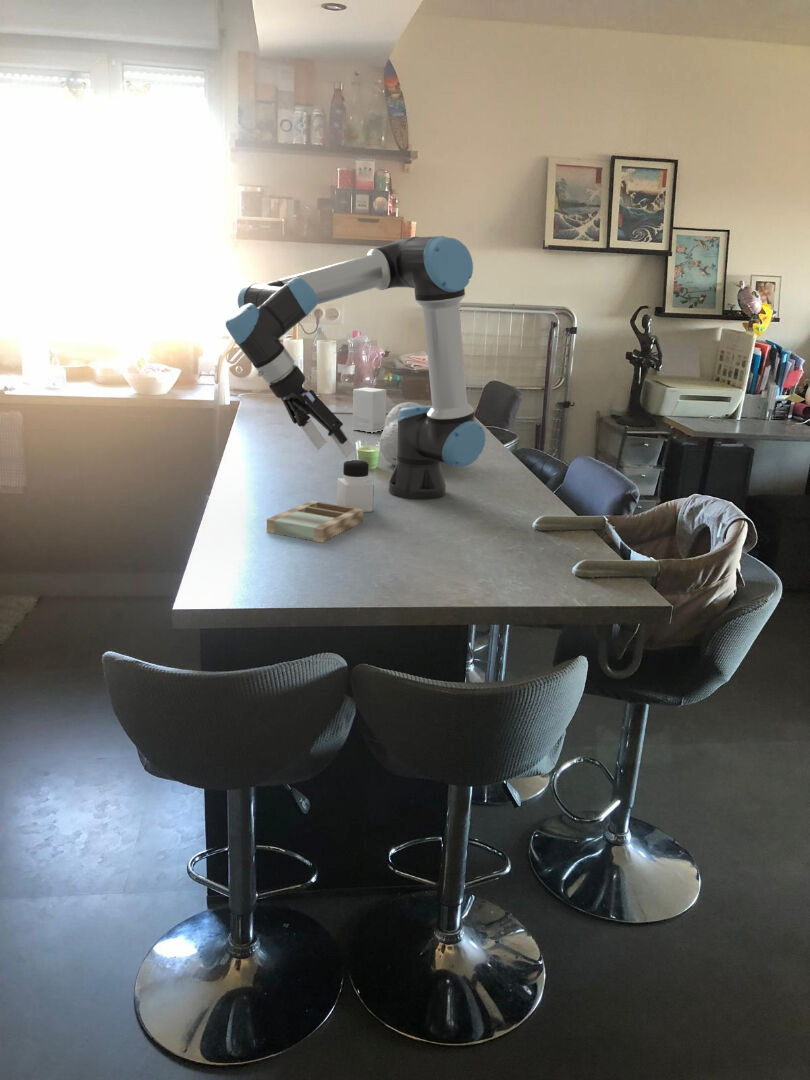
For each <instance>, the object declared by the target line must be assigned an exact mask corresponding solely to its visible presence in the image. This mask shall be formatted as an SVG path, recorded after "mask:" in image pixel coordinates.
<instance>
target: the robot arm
mask: <svg viewBox="0 0 810 1080" xmlns="http://www.w3.org/2000/svg"><path fill="white" fill-rule="evenodd" d="M473 271H474V263H473V257H472V255H471V253H470V251H469V249H468V247H467V246H466V245H465V244H464V243H463V242H462V241H460V240H459V239H456V238H454V237H448V236H444V235H442V236H441V235H439V236H438V235H437V236H410V237H406V238H403V239H399V240H397V241H393V242H391V243H388V244H385V245H382V246H379V247H375V248H371V249H370V250H369V251H368V252H367V254H366V255H364V256H360V257H355V258H353V259H349V260H345V261H341V262H338V263H333V264H330V265H326V266H324V267H319V268H315V269H312V270H309V271H305V272H301V273H297V274H293V275H290V276H286V277H282V278H279V279H276V280H273V281H272V280H271V281H267V282H265V283H253V284H247V285H245V286H243V288H241V290H240V291H239V293H238V294H237V295H238V297H237V306H238V308H237V309H236V310H234V311H233V312H232V313H231V314H229V316H228V317H227V318H226V320H225V327H226V329H227V331H228V332H229V335H230V336H231V337H232V339H233V340H234V342H235V344H237V346H238V347H239V348H240V350H241V351H242V352H243V354H244V355H245V356H246V357H247V359H248V360H249V362H250V363H251V364H252V365H253V367H254V369H256V371H257V376H258V377H261V378H262V379H263V381H264V382H266V383H267V386H268V388H269V389H270V391H271V392H272V393H273V394H274V395H275V397H276V398H278V399H280V400H281V401H282V402H283V405H284V407H285V409H286V411H287V413H288V415H289V417H290V419H291V421H292V423H293V424H297V426H299V427H300V428H301V429H302V431H303V432H304V434H305V435H306V436H307V438H308V439H309V440H310V443H311V442H312V444H313V446H314V447H315V449H316V450H318V451H320V449H322V447H323V446H325V444H326V443H327V442H328V441H327V440H326V438H325V437H324V436H323V434H322V433H321V432H320V431H319V429H318V427H317V426H316V425H315V423H314V422H313V421H312V420H311V417H312V418H314V420H316V421H317V422H318V424H320V425H321V426H322V427H323V428H325V429H326V431H327V435H328V437H330V438H331V439H332V441H334V443H335V444H336V447H338V450H340V451H341V453H342V454H343V456H344V457H345V458H348V457H350V455H352V453H353V452H354V451H355V450H356V447H355V446H354V445H353V443H352V442H351V441H350V439H349V437H348V436H347V435H346V433H345V432H344V431H343V429H342V428H341V427H342V426H343V425H344V424H343V422H342V421H341V420H340V419H339V418H338V417H337V416H336V415H335V414H334V413H333V412H332V410H331V409H330V408H329V407H328V406H327V405H326V404H325V403H324V402H323V401H322V400H321V399H320V398H319V397H318V395H317V394H316V393H315V391H314V390H313V389H310V390H307V389H305V388H304V387H303V385H304V383H305V380H306V376H305V375H304V373H303V371H302V370H301V368H300V367H299V366H298V365H297V364H295V359H294V358H293V356H291V354H290V352H289V351H288V349H287V348H286V346H284V345H283V343H282V341H281V340H280V339H281V338H282V337H283V336H284V335H286V333H288V332H289V331H290V330H291V329H293V328H294V327H295V326H296V325H297V324H299V323H300V322H301V321H302V320H303V319H305V318H306V317H308V316H309V314H310V313H311V312H312V311H313V310H314V309H315V308H316V307H317V305H321V304H324V303H327V302H328V303H329V302H331V301H334V300H338V299H341V298H344V297H347V296H351V295H355V294H358V293H362V292H366V291H369V290H372V289H377V290H378V291H384V290H388V289H394V288H410V289H411V288H412V289H413V290H414V297H415V302H416V303H418V305H420V306H421V307H422V312H423V314H422V315H423V323H424V324H423V325H424V334H425V344H426V345H425V346H426V355H427V363H428V364H427V365H428V376H429V387H430V397H431V405H422V406H408V407H403V408H401V410H400V411H399V418H398V441H397V463H396V466H395V465H394V466H395V467H394V469H393V471H392V473H391V477H390V480H389V483H388V492H389V493H390V494H392V495H394V496H397V497H399V498H400V497H401V498H406V499H414V500H416V499H417V500H428V499H429V500H430V499H437V498H441V497H443V496H444V495H445V494H446V491H447V490H446V488H447V485H446V481H445V477H444V474H443V470H442V465H441V463H445V464H446V465H448V466H451V467H453V466H454V467H459V468H462V467H463V468H464V467H468V466H470V465H472V464H473V463H474V462H476V461H477V460H478V458H479V456H480V455H481V454H482V452H483V451H484V447H485V444H486V433H485V429H484V427H482V426H481V425H480V423H479V422H476V420H475V410H474V407H473V405H470V404H469V403H468V397H467V396H468V395H467V385H466V374H465V371H466V370H465V361H464V359H465V358H464V348H463V347H464V346H463V335H462V334H463V333H462V322H461V321H462V320H461V312H460V311H461V309H460V302H461V301H462V300H463V299H464V298H465V297H466V292H465V290H466V289H465V288H466V287H467V286H468V285H469V283H470V279H472V277H473ZM309 415H310V416H311V417H310V416H309Z"/></svg>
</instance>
